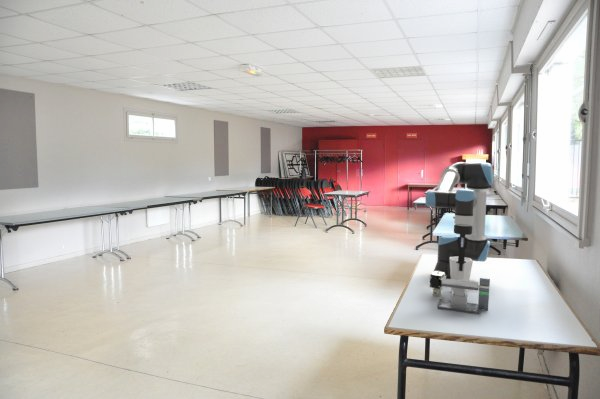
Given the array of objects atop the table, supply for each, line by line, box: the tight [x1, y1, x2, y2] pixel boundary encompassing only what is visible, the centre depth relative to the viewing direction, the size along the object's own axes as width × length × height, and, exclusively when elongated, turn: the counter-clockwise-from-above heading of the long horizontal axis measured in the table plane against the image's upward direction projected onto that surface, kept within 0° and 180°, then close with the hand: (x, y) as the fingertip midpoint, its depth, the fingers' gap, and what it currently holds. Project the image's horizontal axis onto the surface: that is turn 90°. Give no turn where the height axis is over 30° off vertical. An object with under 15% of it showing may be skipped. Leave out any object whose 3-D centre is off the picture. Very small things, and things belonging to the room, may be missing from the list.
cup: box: [449, 256, 474, 294], centre depth 210 cm, size 11×10×17 cm
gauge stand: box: [437, 277, 491, 315], centre depth 188 cm, size 20×11×14 cm, turn 68°
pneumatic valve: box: [429, 271, 446, 298], centre depth 205 cm, size 6×12×12 cm, turn 148°
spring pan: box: [441, 278, 490, 296], centre depth 188 cm, size 19×9×6 cm, turn 68°
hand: (460, 277), depth 188 cm, fingers closed
